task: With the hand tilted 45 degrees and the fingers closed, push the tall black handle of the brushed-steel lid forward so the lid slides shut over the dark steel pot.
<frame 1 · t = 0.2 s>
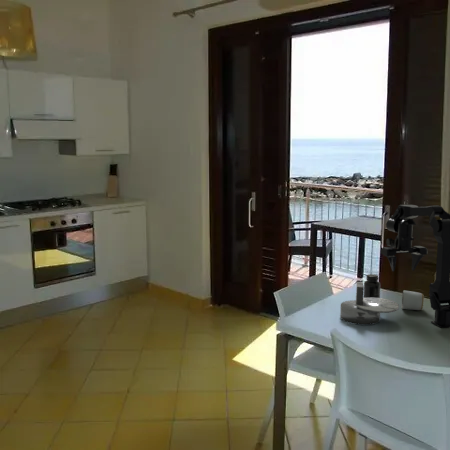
hand: (403, 270, 218), 14 cm above the table, tool pointing down, fingers open, 9 cm apart
grey rounded block: (410, 308, 214), on the table
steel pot: (359, 318, 200), on the table
steel lid: (377, 296, 198), point 9 cm above the table, slide at 6.0 cm
supplement bottle: (371, 302, 221), on the table
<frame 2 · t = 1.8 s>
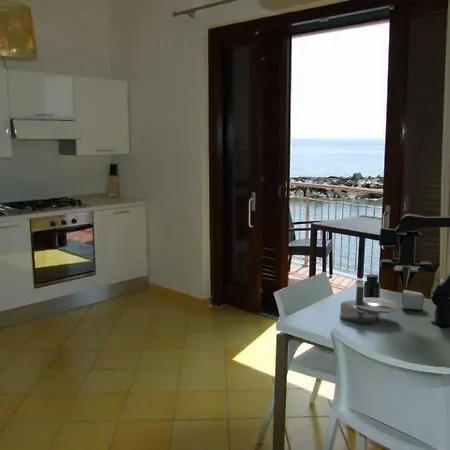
hand: (404, 287, 196), 13 cm above the table, tool pointing down, fingers closed
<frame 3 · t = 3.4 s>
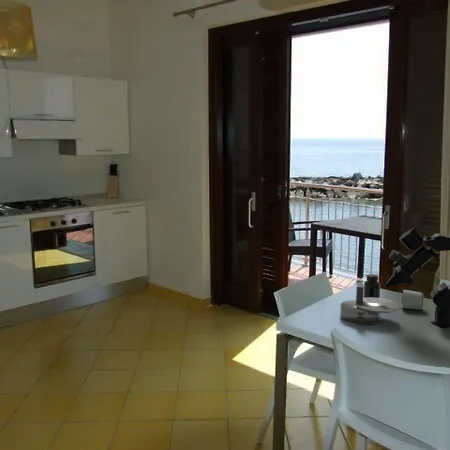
hand: (386, 286, 196), 14 cm above the table, tool tilted 45°, fingers closed
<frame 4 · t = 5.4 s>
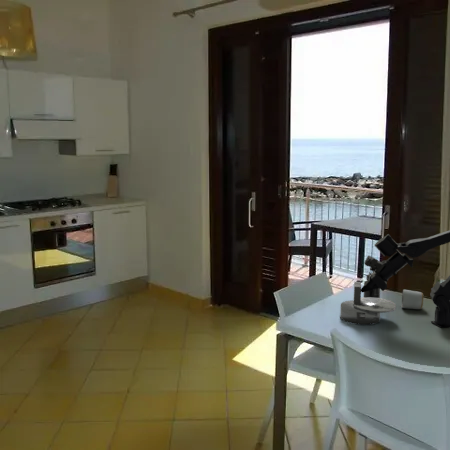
hand: (361, 291, 199), 11 cm above the table, tool tilted 45°, fingers closed, pressing on steel lid
steel lid: (374, 295, 198), point 9 cm above the table, slide at 5.1 cm, touching gripper
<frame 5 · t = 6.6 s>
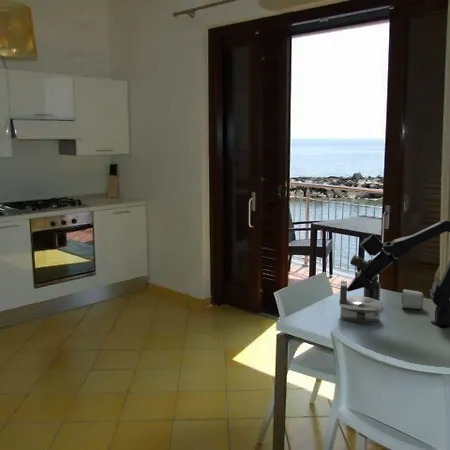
hand: (347, 290, 200), 11 cm above the table, tool tilted 45°, fingers closed, pressing on steel lid
steel lid: (360, 294, 199), point 9 cm above the table, slide at -0.1 cm, touching gripper
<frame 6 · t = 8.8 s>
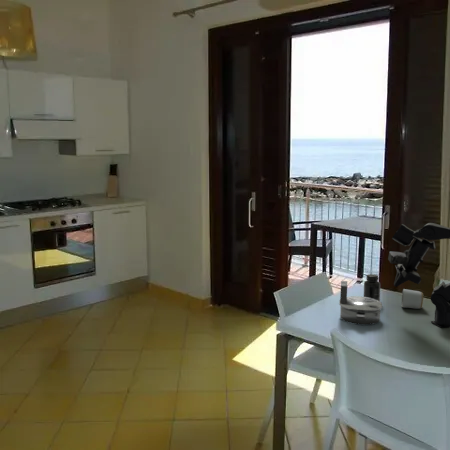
hand: (394, 286, 200), 13 cm above the table, tool tilted 25°, fingers closed
steel lid: (360, 294, 199), point 9 cm above the table, slide at 0.0 cm
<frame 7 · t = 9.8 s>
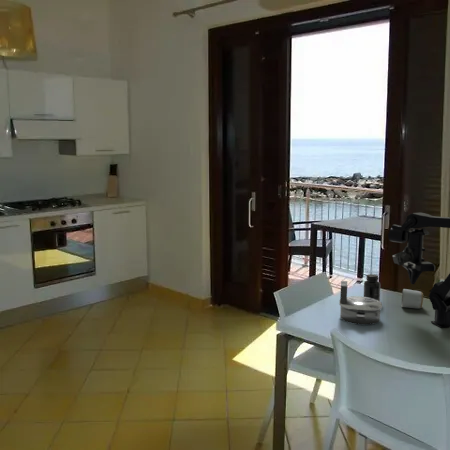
hand: (412, 284, 202), 13 cm above the table, tool pointing down, fingers closed
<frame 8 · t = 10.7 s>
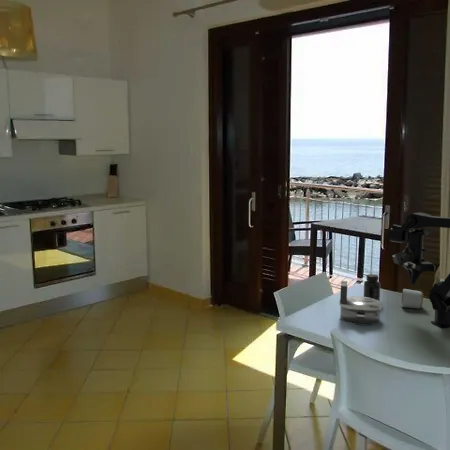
hand: (412, 284, 202), 13 cm above the table, tool pointing down, fingers closed
at the end: steel lid slide at 0.0 cm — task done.
